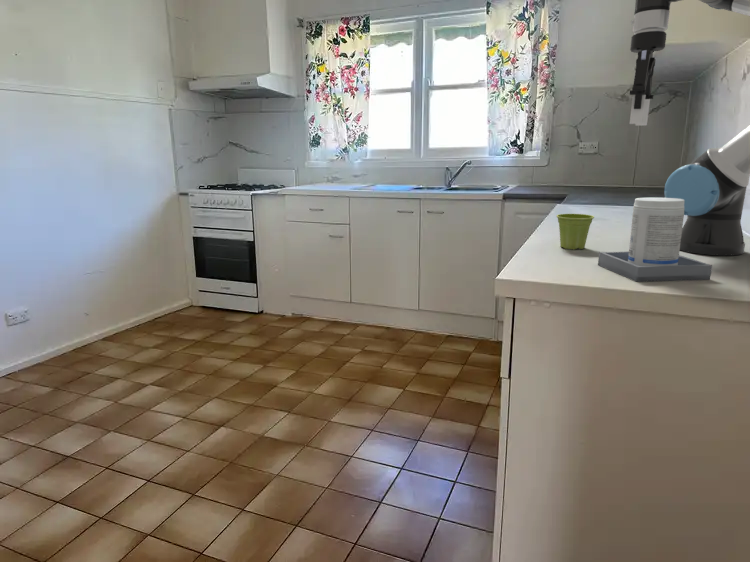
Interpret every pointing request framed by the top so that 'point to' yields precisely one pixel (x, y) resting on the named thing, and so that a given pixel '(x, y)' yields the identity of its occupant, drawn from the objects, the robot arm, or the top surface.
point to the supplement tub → (656, 231)
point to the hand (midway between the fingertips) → (638, 124)
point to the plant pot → (574, 230)
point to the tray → (655, 268)
